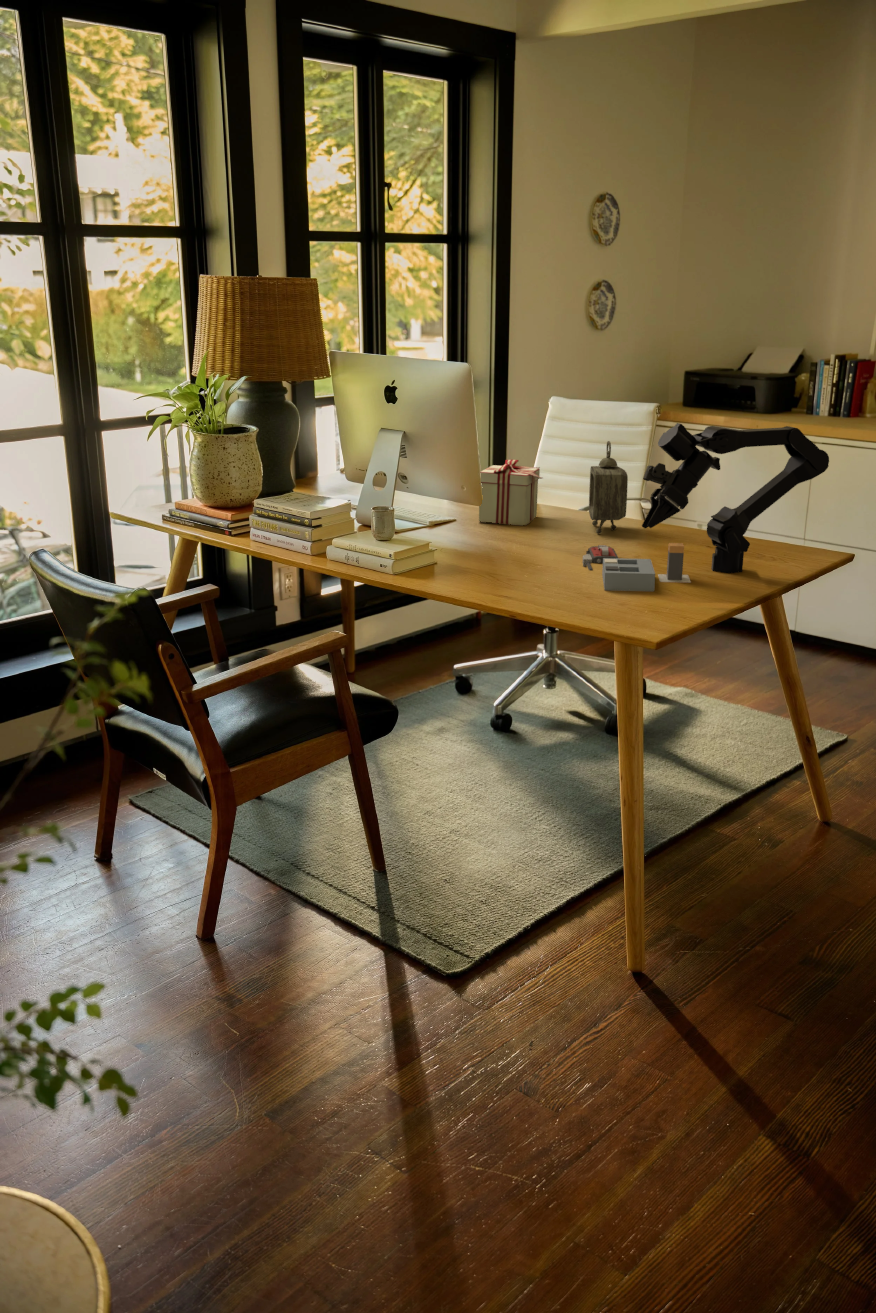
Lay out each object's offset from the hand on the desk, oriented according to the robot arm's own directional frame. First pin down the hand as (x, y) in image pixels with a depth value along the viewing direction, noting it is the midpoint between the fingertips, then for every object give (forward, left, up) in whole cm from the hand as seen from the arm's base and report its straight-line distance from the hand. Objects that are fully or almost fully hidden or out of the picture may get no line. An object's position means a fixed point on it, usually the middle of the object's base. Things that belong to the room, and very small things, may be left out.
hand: (645, 527), depth 251 cm
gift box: (+34, -68, -13) cm, 77 cm away
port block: (+4, +7, -12) cm, 15 cm away
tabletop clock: (+7, -55, -13) cm, 57 cm away
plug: (-7, +2, -11) cm, 14 cm away
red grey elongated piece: (+10, -14, -13) cm, 22 cm away
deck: (-7, +2, -12) cm, 14 cm away
